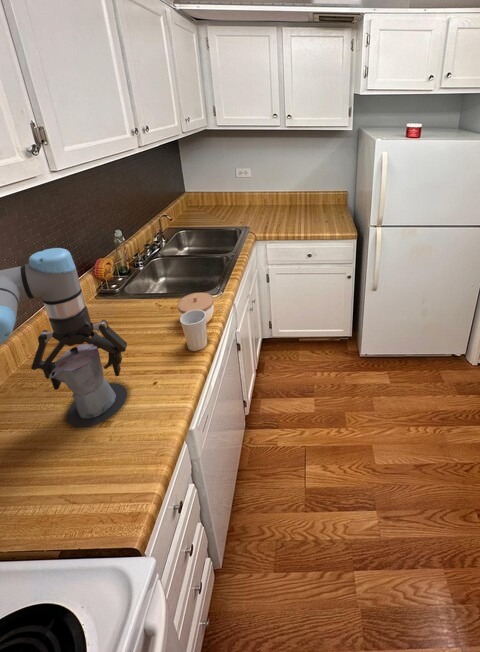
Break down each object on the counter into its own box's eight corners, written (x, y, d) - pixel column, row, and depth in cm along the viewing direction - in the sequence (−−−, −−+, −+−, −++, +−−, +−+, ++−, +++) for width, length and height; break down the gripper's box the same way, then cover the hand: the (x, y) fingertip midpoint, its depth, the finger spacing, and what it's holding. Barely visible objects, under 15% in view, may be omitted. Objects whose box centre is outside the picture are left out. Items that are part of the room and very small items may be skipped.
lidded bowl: (208, 308, 133) (205, 284, 129) (221, 323, 124) (218, 298, 120) (176, 320, 126) (171, 295, 122) (187, 337, 116) (183, 311, 112)
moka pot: (57, 421, 85) (33, 360, 78) (111, 377, 99) (94, 322, 91) (83, 434, 82) (60, 372, 75) (135, 387, 95) (120, 330, 88)
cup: (190, 337, 116) (186, 309, 112) (213, 338, 116) (209, 310, 112) (181, 354, 109) (175, 324, 105) (205, 354, 109) (200, 324, 104)
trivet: (59, 437, 82) (58, 434, 82) (76, 393, 95) (75, 390, 94) (122, 420, 87) (122, 417, 86) (131, 380, 99) (130, 377, 99)
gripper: (128, 294, 86) (143, 358, 94) (11, 312, 78) (37, 380, 86) (123, 310, 80) (139, 377, 87) (-6, 331, 72) (24, 403, 80)
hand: (89, 379), depth 87 cm, fingers open, 13 cm apart
